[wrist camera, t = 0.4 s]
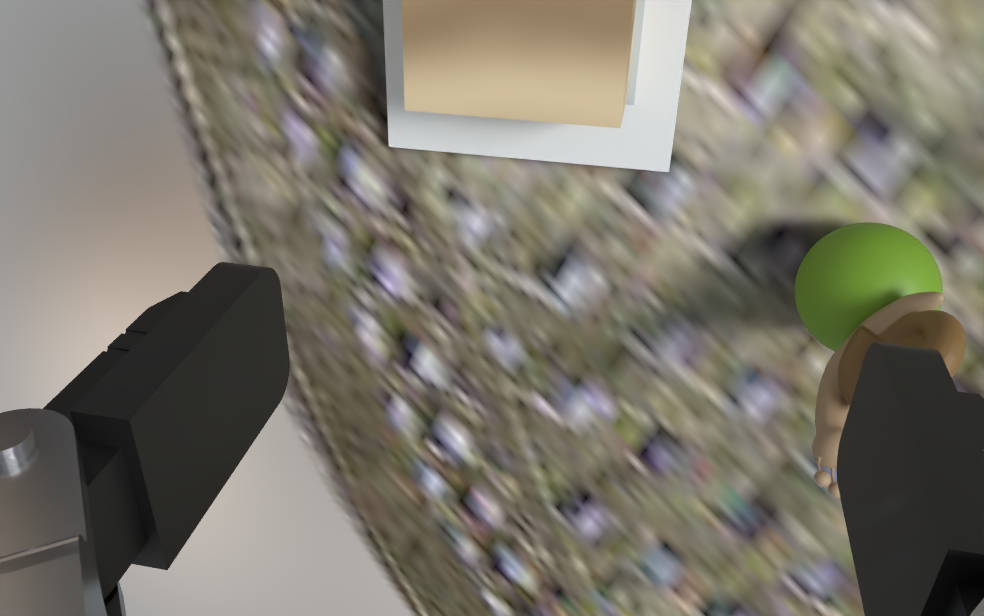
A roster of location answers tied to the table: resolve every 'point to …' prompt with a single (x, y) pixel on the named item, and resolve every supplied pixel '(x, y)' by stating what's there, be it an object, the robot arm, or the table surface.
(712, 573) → the table surface
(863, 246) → the snail figurine
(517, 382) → the table surface
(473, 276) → the table surface
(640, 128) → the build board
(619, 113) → the oak base block
